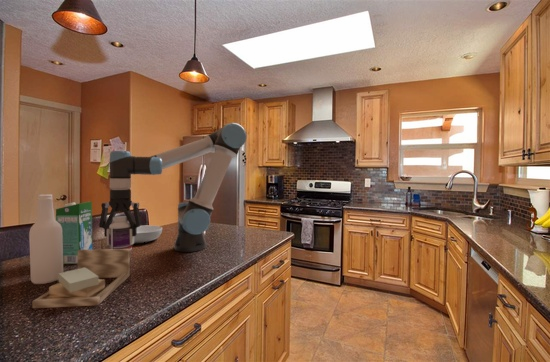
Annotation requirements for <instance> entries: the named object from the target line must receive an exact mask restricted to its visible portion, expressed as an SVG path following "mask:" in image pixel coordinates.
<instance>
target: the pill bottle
mask: <svg viewBox="0 0 550 362" xmlns="http://www.w3.org/2000/svg"><path fill="white" fill-rule="evenodd" d="M131 228H132V227H131V225H130V223H129V221H128V219H127V217H126V215H123V216H120V215H119V216H115V217H113V221H112V223H111V224H110V226H109V245H108V247H109V248H108V249H130V252H131V251H132V249H133V244H132V245H130V229H131Z"/></svg>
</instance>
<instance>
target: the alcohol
mask: <svg viewBox="0 0 550 362" xmlns="http://www.w3.org/2000/svg"><path fill="white" fill-rule="evenodd" d="M36 215H37V216H36V221H35V223H33V224H32V226H31V227H30V228H29V232H28V233H29V234H28V236H29V263H30V265H29V266H30V267H29V268H30V281H31V282H32V284H34V285H45V284H50V283H53V282H58V281H59V280H58V273H62V272H64V264H63V238H62V227H61V225H60V224H59V223H58V222H57V221H56V216H55V211H54V203H53V194H50V193H45V194H38V195H37V214H36Z"/></svg>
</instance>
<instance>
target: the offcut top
mask: <svg viewBox="0 0 550 362" xmlns="http://www.w3.org/2000/svg"><path fill="white" fill-rule="evenodd" d="M99 279H100V278H98V276H97V275H96V274H94V273H93V272H91V271H90V270H88V269H87V268H85V267H84V268H80V269H78V268H76V269H72V270H66V271H63V272H62V273H58V280H57V281H58V283H59V282H60V283H61V284H62V285H63V286H64V287H65V288H66V289H67V290H68V291H69V292H74V291H77V290H81V289H84V288H88V287H91V286H95V285H99Z"/></svg>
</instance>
